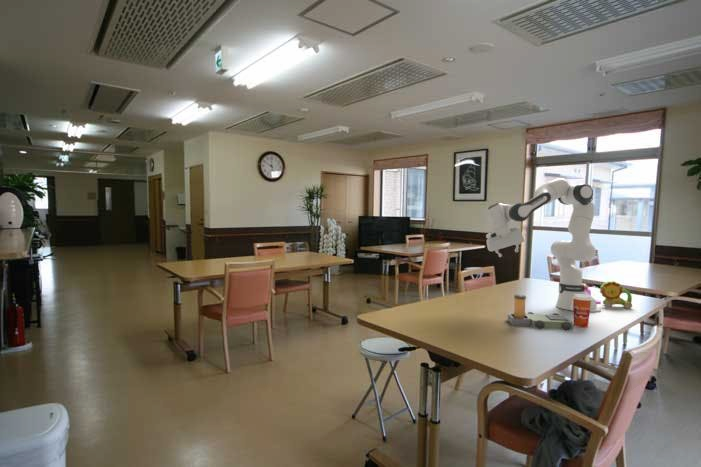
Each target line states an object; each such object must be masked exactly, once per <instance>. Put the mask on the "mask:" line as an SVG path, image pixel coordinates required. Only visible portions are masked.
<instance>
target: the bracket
mask: <svg viewBox="0 0 701 467" xmlns="http://www.w3.org/2000/svg"><path fill="white" fill-rule="evenodd" d="M585 292H587V293H588V294H589V295H590V296H591V295H592V291H591V289H589V288H588V290H585ZM594 299H595V301H596V305H598V304H599V305H600V304H601V302H602V301H601V300H599V299H596V298H594Z"/></svg>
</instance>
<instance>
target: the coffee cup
mask: <svg viewBox="0 0 701 467" xmlns="http://www.w3.org/2000/svg"><path fill="white" fill-rule="evenodd" d="M591 300H592V299H591V296H588V295H583V294H574V296H573V311H572V312H573V326H575V325H576V326H575V327H578V326H579V328H588V326H589V321H590V320H589V319H590V314H591V313H590V305H591Z"/></svg>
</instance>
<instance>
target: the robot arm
mask: <svg viewBox="0 0 701 467" xmlns="http://www.w3.org/2000/svg"><path fill="white" fill-rule="evenodd" d="M593 199H594V190H593V188H592V186H591V185H590V184H588V183H577V184H572V185H570V184H569V181H567V180H566V179H565V178H562V177H559V178H555V179H553V180H550V181H548V182H545V183H544V184H542V185H540V186H539V187H538V188H537V189H536V190H535V191H534V197H532V198H530V199H529V200H527V201H525V202H519V203H515V204H504V203H501V202H497V203H494V204H493V203H492V204H491V205H490V206H488V208H487V214H488V219H489V222H490V224H491V228H492V231H490V232H488V233H487V234H486V235H485V238H486V247H487V251H489V252H495V253H496V254H497V255H498V257H499V258H501V257H503V254H502V253H501V252H499V251H500V250H501V249H504V248H507V247H508V248H509V247H512V246H516V247H515V249H514V252H515V253H519V250H520V249H519V246H520V244H521V243H524V242H525V238H524V236H523V233H522V229H521V228H520V227H518V226H516V227H512V228H511V227H510V224H509V222H510V223H511V222H525V221H526V220H528V218H529V217H531V216H530V215H532V214H533V212H535V211H536V210H538V209H539V208H542V207H543V206H545V205H548V204H550V203H553V202H554V201H556V200H558V202H559V203H560V204H562V205H565V206H566V205H568V206H569V205H572V208H573V209H572V213H571V216H570V220H569V223H568V226H567V231H568V232H569V233H570V235H571V237H572V240H556V241H553V243H552V244H551V246H550V253H551V255H552V256H553V257H554V258H555V259H556V261H557V263H558V266H559V283H558V297H557V302H556V304H555V307H557V308H558V309H563V310H566V311H571V312H573V296H574V294H583V295H588V296H590V295H589V294H588V293H587V292H585V290H588V289H589V286H587V285H584V284H583V270H582V269H581V268H580V267H579V266H578V265H577V264H576V261H577V262H591V261H593V259H594V258H595V257H596V254H597V252H596V247H595V246H594V244H592V242H591V239H590V231H591V228H592V224H593V221H594V216H595V211H596V210H595V204H594V203H593V202H592V201H593ZM591 299H592V300H591V305H590V312H591V313H592V312H593V313H594V312H596V313H598V312H601V310H602V309H601V308H600V307H599V306H597V304H596V301H595V299H596V298H594V297H593V296H591Z"/></svg>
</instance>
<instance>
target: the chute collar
mask: <svg viewBox="0 0 701 467" xmlns="http://www.w3.org/2000/svg"><path fill="white" fill-rule="evenodd" d="M507 321H508V322H509V324H510V323H511V324H512V325H511V324H510V325H511V326H513V325H516V326H518V327H531V324H532V319H531V318H530V317H529V316H528V315H526V314H525V319H523V318H514V313H507ZM516 326H515V327H516Z"/></svg>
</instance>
